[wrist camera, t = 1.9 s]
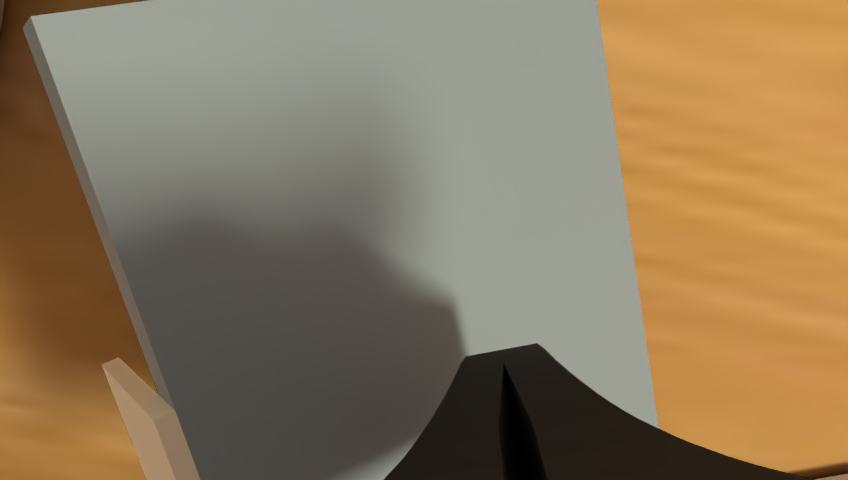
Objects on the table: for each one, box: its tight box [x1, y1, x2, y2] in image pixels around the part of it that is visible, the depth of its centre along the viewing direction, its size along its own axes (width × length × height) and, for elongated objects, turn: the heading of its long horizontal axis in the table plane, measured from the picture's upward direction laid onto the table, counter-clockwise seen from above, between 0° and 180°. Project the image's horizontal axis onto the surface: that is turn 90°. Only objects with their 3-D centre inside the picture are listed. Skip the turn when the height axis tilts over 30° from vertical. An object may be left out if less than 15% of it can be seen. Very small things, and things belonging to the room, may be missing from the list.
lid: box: [22, 0, 659, 480], centre depth 14 cm, size 15×11×3 cm
